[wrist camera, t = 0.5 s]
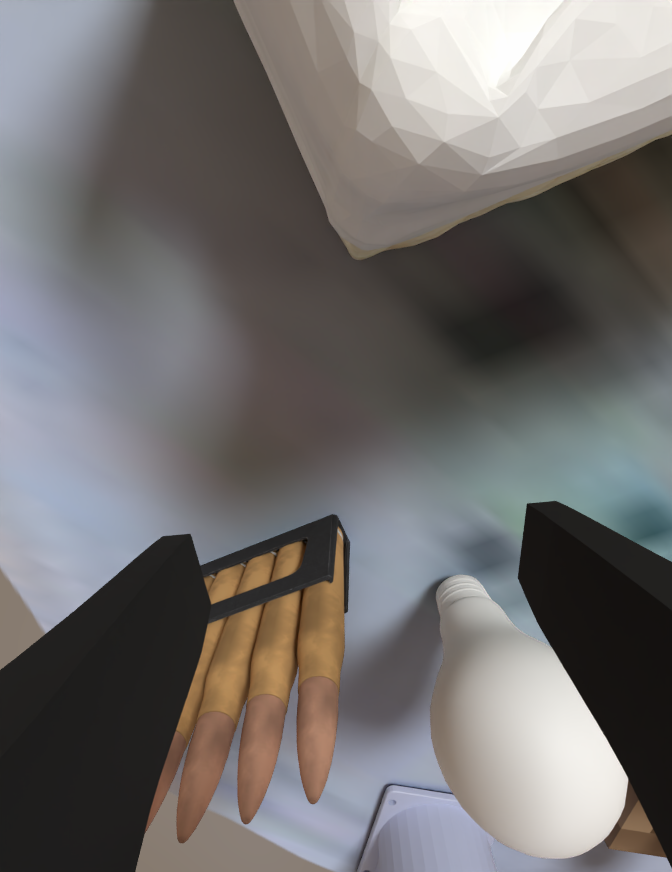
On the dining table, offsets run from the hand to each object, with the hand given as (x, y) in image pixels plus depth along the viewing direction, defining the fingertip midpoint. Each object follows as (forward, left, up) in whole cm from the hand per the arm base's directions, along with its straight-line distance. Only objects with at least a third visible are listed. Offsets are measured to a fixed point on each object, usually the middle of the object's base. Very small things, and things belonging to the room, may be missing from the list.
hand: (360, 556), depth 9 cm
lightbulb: (-7, -8, -11) cm, 15 cm away
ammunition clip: (-8, +3, -11) cm, 14 cm away
